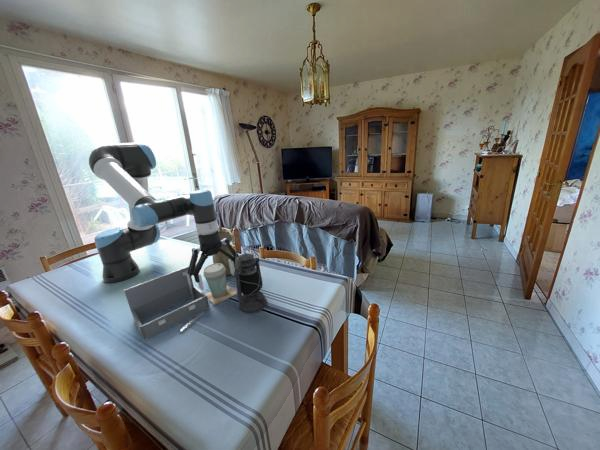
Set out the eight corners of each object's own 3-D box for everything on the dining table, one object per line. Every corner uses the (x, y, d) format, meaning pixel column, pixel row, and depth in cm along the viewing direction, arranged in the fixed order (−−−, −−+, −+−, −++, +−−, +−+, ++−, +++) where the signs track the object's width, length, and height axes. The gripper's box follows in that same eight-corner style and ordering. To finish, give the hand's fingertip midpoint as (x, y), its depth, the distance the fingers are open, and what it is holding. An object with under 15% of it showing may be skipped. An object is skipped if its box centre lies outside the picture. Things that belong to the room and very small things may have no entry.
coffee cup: (224, 300, 96) (218, 273, 92) (205, 299, 98) (197, 273, 94) (234, 287, 104) (228, 262, 100) (215, 287, 106) (209, 262, 102)
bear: (258, 273, 116) (251, 223, 108) (224, 285, 107) (214, 231, 100) (241, 258, 132) (235, 214, 125) (210, 268, 124) (201, 220, 116)
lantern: (252, 318, 85) (239, 238, 76) (230, 309, 91) (216, 233, 82) (274, 299, 95) (265, 226, 86) (253, 292, 101) (243, 222, 91)
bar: (182, 334, 81) (181, 331, 81) (179, 333, 82) (179, 330, 81) (203, 314, 90) (202, 311, 90) (200, 314, 90) (200, 311, 90)
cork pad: (203, 295, 101) (203, 294, 101) (225, 285, 108) (225, 284, 108) (214, 305, 94) (214, 304, 94) (237, 293, 101) (237, 292, 101)
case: (134, 320, 89) (123, 289, 85) (194, 293, 103) (188, 265, 99) (144, 341, 79) (133, 307, 75) (210, 307, 93) (203, 277, 89)
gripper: (177, 244, 82) (190, 299, 88) (242, 224, 98) (249, 271, 104) (169, 239, 87) (183, 291, 94) (232, 221, 103) (240, 266, 110)
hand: (218, 281), depth 99 cm, fingers open, 13 cm apart
